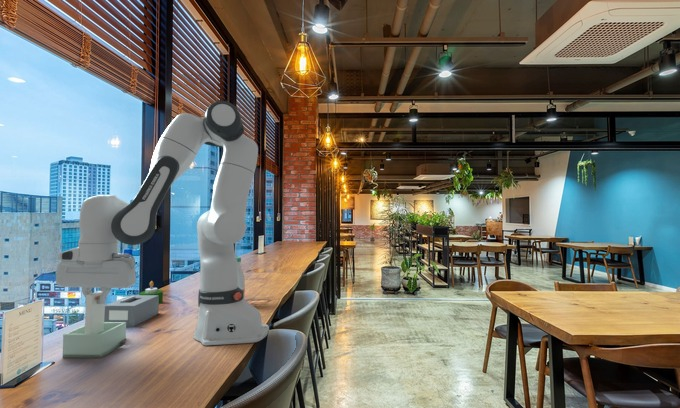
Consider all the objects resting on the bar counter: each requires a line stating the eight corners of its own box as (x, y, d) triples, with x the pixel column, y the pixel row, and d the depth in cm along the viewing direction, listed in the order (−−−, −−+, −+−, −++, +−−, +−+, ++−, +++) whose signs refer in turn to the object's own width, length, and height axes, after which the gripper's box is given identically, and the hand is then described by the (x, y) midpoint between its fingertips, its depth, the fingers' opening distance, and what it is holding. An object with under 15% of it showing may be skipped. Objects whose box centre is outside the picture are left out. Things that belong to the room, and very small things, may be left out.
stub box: (125, 343, 97) (126, 322, 97) (100, 358, 87) (101, 334, 87) (91, 342, 97) (92, 322, 97) (62, 357, 87) (63, 334, 87)
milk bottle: (246, 304, 139) (247, 256, 139) (241, 310, 131) (242, 258, 132) (227, 304, 138) (228, 256, 139) (221, 310, 131) (222, 258, 131)
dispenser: (158, 317, 121) (158, 293, 121) (133, 331, 107) (134, 304, 107) (130, 317, 121) (131, 293, 122) (102, 331, 107) (103, 303, 107)
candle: (166, 304, 139) (167, 280, 139) (146, 309, 132) (146, 283, 132) (155, 301, 143) (156, 278, 143) (135, 306, 136) (135, 281, 136)
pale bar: (103, 330, 95) (105, 290, 95) (90, 336, 90) (92, 295, 90) (98, 330, 95) (99, 290, 95) (84, 336, 90) (86, 294, 90)
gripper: (141, 252, 96) (140, 301, 95) (71, 251, 96) (69, 299, 96) (127, 254, 90) (125, 307, 89) (52, 253, 90) (49, 305, 90)
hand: (95, 303), depth 92 cm, fingers closed on pale bar, 2 cm apart
